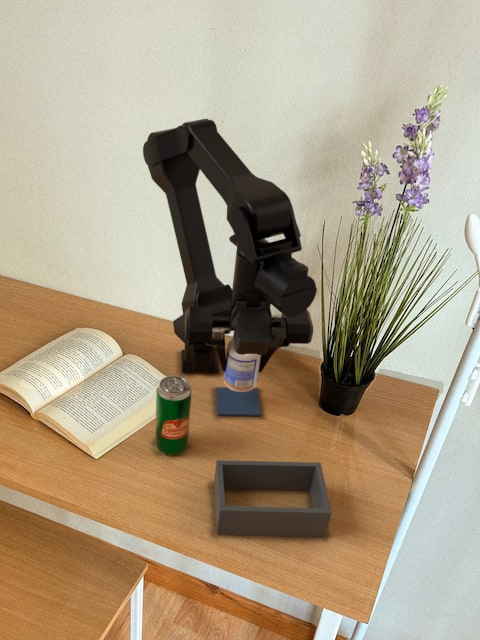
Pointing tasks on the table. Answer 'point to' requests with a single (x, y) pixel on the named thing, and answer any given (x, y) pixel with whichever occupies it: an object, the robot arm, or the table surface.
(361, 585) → the table surface
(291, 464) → the tub
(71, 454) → the table surface
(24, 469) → the table surface
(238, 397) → the mat
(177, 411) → the soda can
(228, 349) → the pill bottle
